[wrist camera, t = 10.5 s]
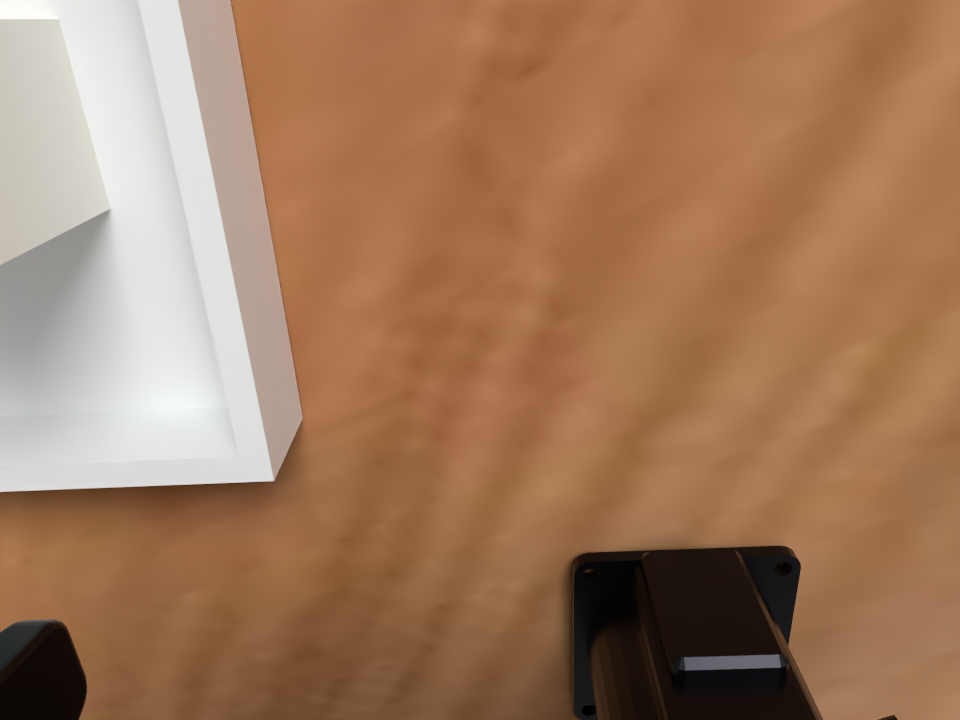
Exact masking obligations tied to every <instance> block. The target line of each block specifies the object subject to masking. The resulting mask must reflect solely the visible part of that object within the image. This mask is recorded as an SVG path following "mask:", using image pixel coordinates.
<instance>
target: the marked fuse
mask: <svg viewBox="0 0 960 720" xmlns="http://www.w3.org/2000/svg"><path fill="white" fill-rule="evenodd" d="M109 209H111V208H110V204H109V201H108V197H107V193H106V190H105V186H104V182H103V179H102V175H101V171H100V168H99V164H98V160H97V157H96V153H95V149H94V146H93V142H92V138H91V135H90V131H89V127H88V124H87V120H86V116H85V113H84V109H83V105H82V102H81V98H80V94H79V91H78V87H77V83H76V80H75V76H74V72H73V69H72V65H71V61H70V58H69V54H68V50H67V47H66V43H65V39H64V36H63V32H62V28H61V25H60V21H59V19H0V265H2V264H3V263H5V262H7V261H9V260H11V259H13V258H15V257H17V256H19V255H21V254H23V253H25V252H27V251H29V250H31V249H33V248H35V247H37V246H39V245H40V244H42V243H44V242H46V241H48V240H50V239H52V238H54V237H56V236H58V235H60V234H62V233H64V232H66V231H68V230H70V229H72V228H74V227H76V226H78V225H79V224H81V223H83V222H85V221H87V220H89V219H91V218H93V217H95V216H97V215H99V214H101V213H103V212H105V211H107V210H109Z"/></svg>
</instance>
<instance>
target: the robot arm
mask: <svg viewBox="0 0 960 720" xmlns="http://www.w3.org/2000/svg"><path fill="white" fill-rule="evenodd" d="M781 562H786V563H785V564H783V565H782V566H778V567H776V565H777V564H779V563H781ZM587 569H596V571H595V572H593V573H585V572H584V571H586V570H587ZM800 569H801V566H800V562H799V560H798V558H797V557H796V555H795V553H794V552H793V550H792V549H790V548H788V547H785V546H765V547H737V548H709V549H681V550H653V551H626V552H598V553H586V554H582V555H580V556H579V557H577V558H576V560H575V561H574V563H573V567H572V701H573V709H574V714H575V716H576V717H577V718H578V719H581V720H823V718H822V716H821V714H820V712H819V710H818V708H817V706H816V704H815V702H814V700H813V697H812V695H811V693H810V691H809V689H808V687H807V685H806V683H805V681H804V679H803V676H802V674H801V672H800V670H799V668H798V666H797V664H796V662H795V660H794V658H793V656H792V653H791V651H790V649H789V647H788V643H789V637H790V631H791V624H792V618H793V612H794V606H795V600H796V594H797V588H798V582H799V576H800ZM86 694H87V682H86V676H85V673H84V670H83V668H82V665H81V663H80V660H79V657H78V655H77V652H76V649H75V647H74V644H73V641H72V639H71V636H70V633H69V631H68V629H67V627H66V626H65V625H64V624H63V623H62V622H61V621H58V620H53V619H52V620H25V621H20V622H17V623H14V624H12V625H11V626H9V627H7V628H6V629H4V630H3V631H1V632H0V720H79V718H80V715H81V712H82V710H83V707H84V703H85V699H86ZM587 705H588V706H587ZM879 720H897V718H896V717H895V715H892V716H889V717H885V718H882V719H879Z"/></svg>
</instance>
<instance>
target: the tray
mask: <svg viewBox="0 0 960 720" xmlns="http://www.w3.org/2000/svg"><path fill="white" fill-rule="evenodd" d="M0 19H59V21H60V25H61V28H62V32H63V36H64V39H65V43H66V47H67V50H68V54H69V58H70V61H71V65H72V69H73V72H74V76H75V80H76V83H77V87H78V91H79V94H80V98H81V102H82V105H83V109H84V113H85V116H86V120H87V124H88V127H89V131H90V135H91V138H92V142H93V146H94V149H95V153H96V157H97V160H98V164H99V168H100V171H101V175H102V179H103V182H104V186H105V190H106V193H107V197H108V201H109V204H110V208H111V209H109V210H107V211H105V212H103V213H101V214H99V215H97V216H95V217H93V218H91V219H89V220H87V221H85V222H83V223H81V224H79V225H78V226H76V227H74V228H72V229H70V230H68V231H66V232H64V233H62V234H60V235H58V236H56V237H54V238H52V239H50V240H48V241H46V242H44V243H42V244H40V245H39V246H37V247H35V248H33V249H31V250H29V251H27V252H25V253H23V254H21V255H19V256H17V257H15V258H13V259H11V260H9V261H7V262H5V263H3V264H2V265H0V492H11V491H36V490H62V489H87V488H112V487H138V486H163V485H189V484H214V483H240V482H265V481H274V480H275V478H276V476H277V474H278V472H279V469H280V467H281V465H282V463H283V461H284V458H285V456H286V454H287V452H288V450H289V447H290V445H291V443H292V441H293V439H294V436H295V434H296V432H297V430H298V428H299V426H300V423H301V421H302V419H303V416H302V410H301V404H300V399H299V393H298V387H297V381H296V376H295V370H294V364H293V358H292V353H291V347H290V341H289V335H288V329H287V324H286V318H285V312H284V306H283V301H282V295H281V289H280V283H279V278H278V272H277V266H276V260H275V255H274V249H273V243H272V237H271V231H270V226H269V220H268V214H267V208H266V203H265V197H264V191H263V185H262V180H261V174H260V168H259V162H258V157H257V151H256V145H255V139H254V134H253V128H252V122H251V116H250V110H249V105H248V99H247V93H246V87H245V82H244V76H243V70H242V64H241V59H240V53H239V47H238V41H237V36H236V30H235V24H234V18H233V13H232V7H231V1H230V0H0Z"/></svg>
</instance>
